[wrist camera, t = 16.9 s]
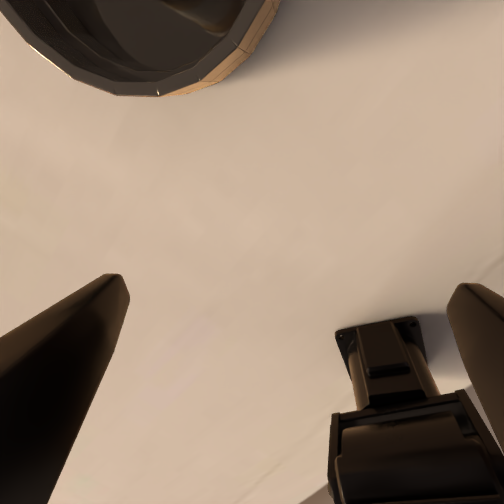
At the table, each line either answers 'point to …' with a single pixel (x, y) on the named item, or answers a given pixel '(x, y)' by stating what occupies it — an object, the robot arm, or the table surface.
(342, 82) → the table surface
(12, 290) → the table surface
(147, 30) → the pan
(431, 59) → the table surface
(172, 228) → the table surface
